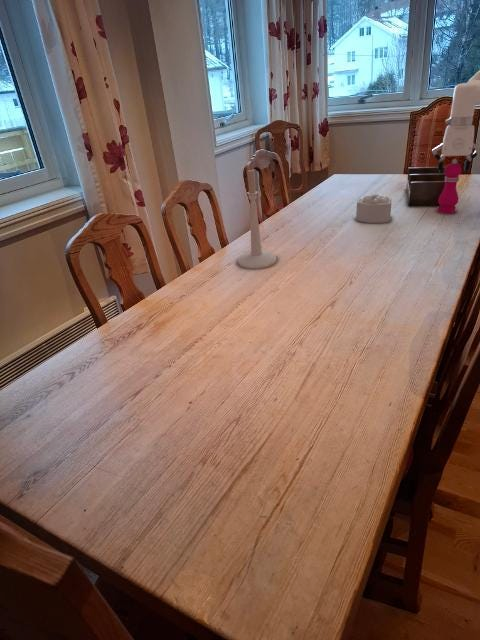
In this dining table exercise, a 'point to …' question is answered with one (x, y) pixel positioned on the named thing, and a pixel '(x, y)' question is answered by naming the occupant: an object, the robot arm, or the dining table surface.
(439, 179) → the shelf
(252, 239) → the candlestick
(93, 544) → the dining table surface
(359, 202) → the lumpy-topped squat cylinder
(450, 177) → the pepper mill
